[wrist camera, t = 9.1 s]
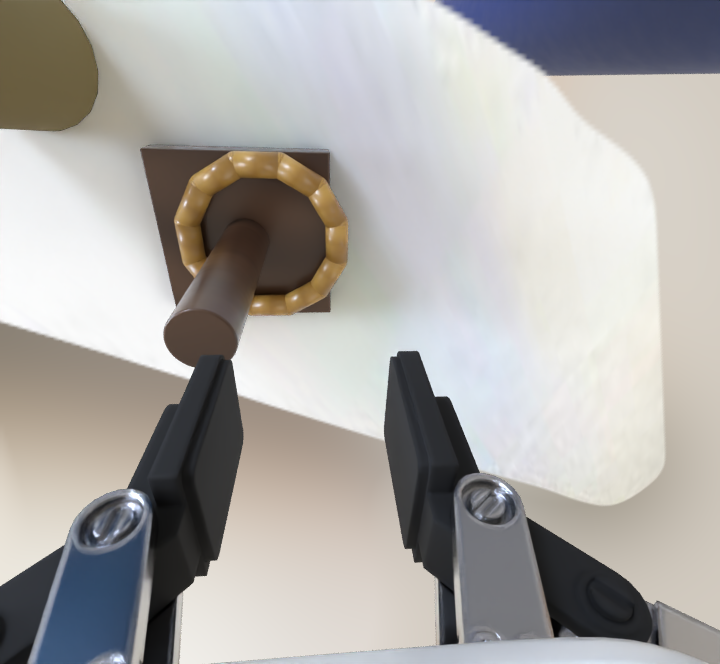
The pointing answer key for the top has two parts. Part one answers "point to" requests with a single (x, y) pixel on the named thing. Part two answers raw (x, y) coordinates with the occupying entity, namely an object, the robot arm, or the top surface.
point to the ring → (293, 176)
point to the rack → (233, 245)
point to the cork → (44, 67)
